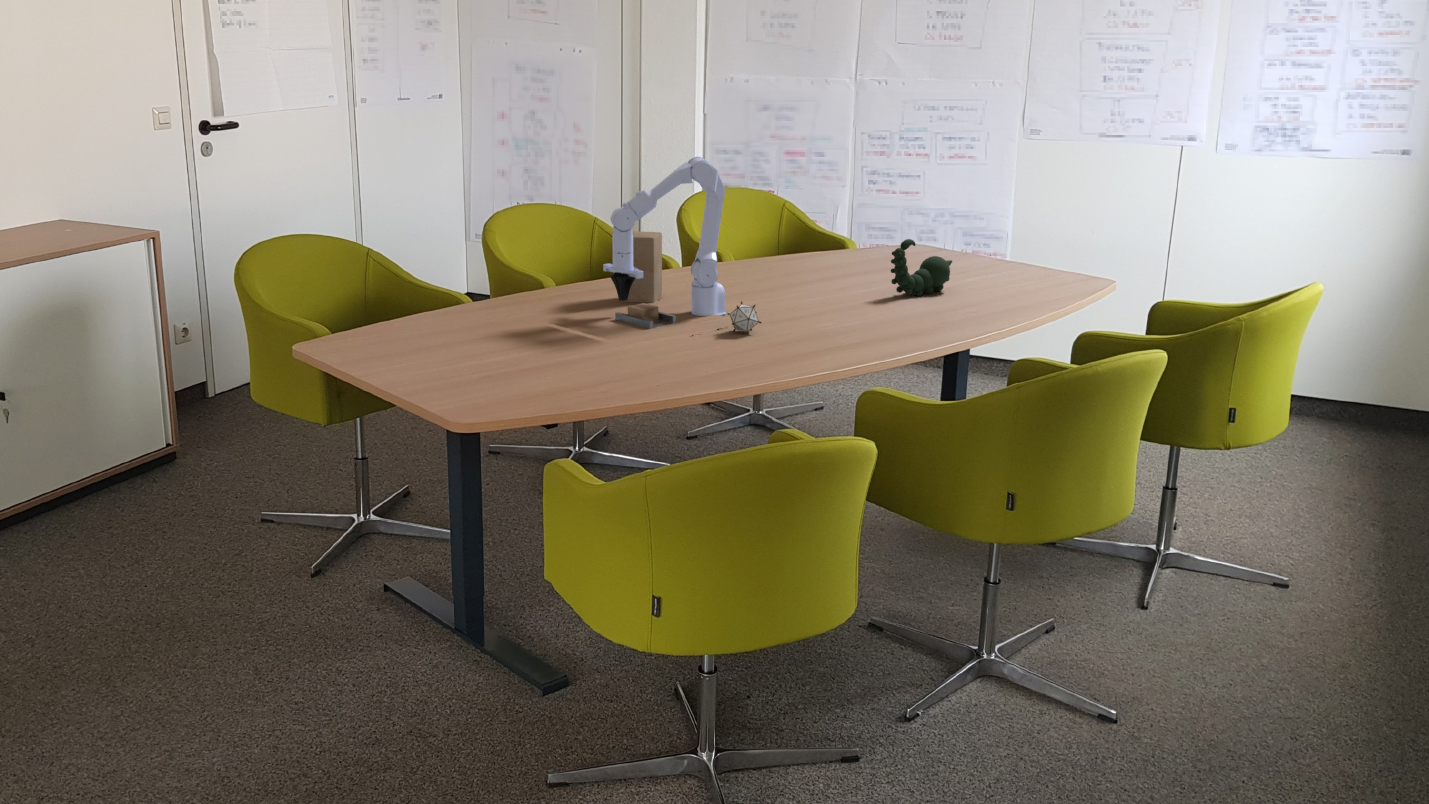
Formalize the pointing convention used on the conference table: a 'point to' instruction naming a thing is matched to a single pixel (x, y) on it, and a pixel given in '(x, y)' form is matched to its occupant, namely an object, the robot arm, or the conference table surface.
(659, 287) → the wooden block
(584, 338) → the conference table surface
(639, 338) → the conference table surface
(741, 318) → the game die
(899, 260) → the toy figurine
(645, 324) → the chute
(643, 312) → the walnut block
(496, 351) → the conference table surface
